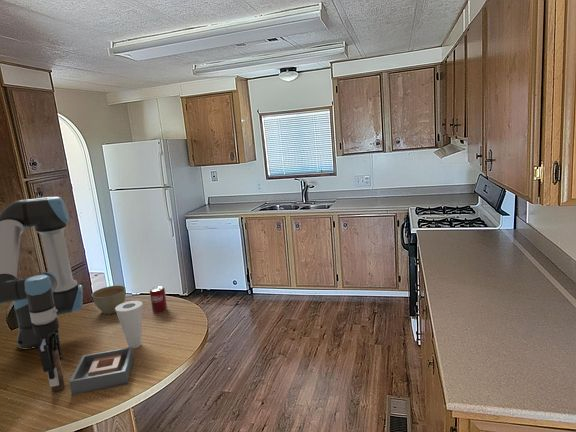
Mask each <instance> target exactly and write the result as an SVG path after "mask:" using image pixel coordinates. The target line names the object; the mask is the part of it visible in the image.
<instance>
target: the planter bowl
mask: <svg viewBox="0 0 576 432" xmlns="http://www.w3.org/2000/svg"><path fill="white" fill-rule="evenodd" d="M126 294H127V293H126V287H125V286H124V285H110V286H106V287H102V288H100V289H97V290H95V291H93V293H91V298H92V300H93V304H94V305H95V306H96V308H98V310H99V311H100V312H102V314H104V315H110V314H111V315H112V314H115V313H116V310H115V308H116V306H118V305H120V304H122V303H125V302H126V301H125V300H126Z"/></svg>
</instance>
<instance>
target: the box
mask: <svg viewBox="0 0 576 432" xmlns="http://www.w3.org/2000/svg"><path fill="white" fill-rule="evenodd" d="M134 359H135V357H134V348H132V347H129V346H128V347H122V348H118V349H113V350H107V351H101V352H95V353H90V354H83V355H82V356H81V358H80V360H79V363H78V364H77V366H76V368H75V370H74V372H73V374H72V375H71V378H70V379H69V387H70V393H71V395H78V394H83V393H88V392H89V393H90V392H93V391H99V390H105V389H109V388H113V387H114V388H115V387H120V386H125V385H128V383H129V379H130V376H131V371H132V368H133V364H134Z"/></svg>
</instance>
